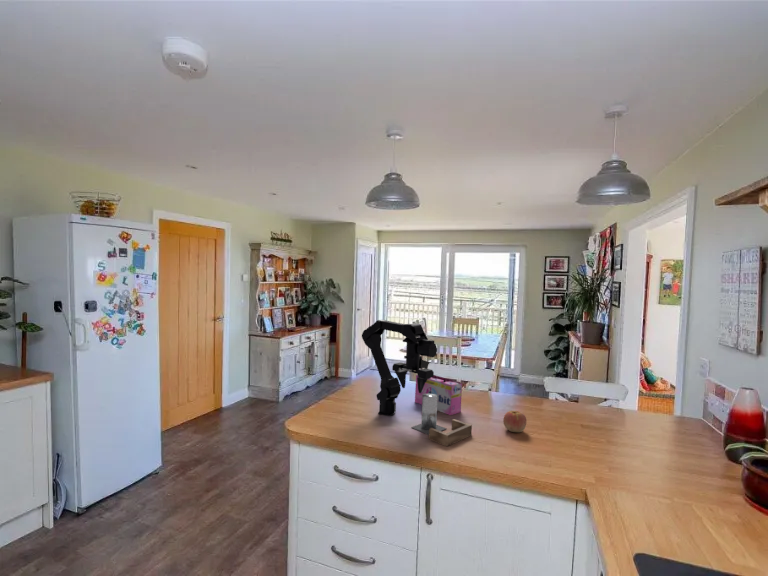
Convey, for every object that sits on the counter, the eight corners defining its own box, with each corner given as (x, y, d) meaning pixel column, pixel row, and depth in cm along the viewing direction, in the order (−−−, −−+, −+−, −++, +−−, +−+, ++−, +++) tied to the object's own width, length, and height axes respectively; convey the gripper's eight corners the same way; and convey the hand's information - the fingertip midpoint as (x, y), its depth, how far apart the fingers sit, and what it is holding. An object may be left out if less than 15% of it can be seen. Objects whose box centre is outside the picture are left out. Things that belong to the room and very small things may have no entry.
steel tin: (420, 429, 159) (421, 396, 159) (422, 424, 165) (423, 392, 165) (435, 431, 158) (436, 398, 157) (437, 426, 164) (438, 394, 163)
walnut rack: (428, 439, 151) (429, 428, 151) (453, 428, 162) (454, 419, 162) (446, 446, 145) (447, 435, 145) (471, 435, 156) (471, 425, 156)
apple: (527, 436, 157) (528, 416, 157) (503, 433, 159) (504, 413, 159) (524, 428, 166) (525, 409, 165) (501, 425, 167) (502, 406, 167)
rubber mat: (411, 428, 161) (411, 427, 161) (427, 422, 168) (427, 421, 168) (430, 435, 154) (430, 434, 154) (446, 429, 161) (446, 428, 161)
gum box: (412, 401, 196) (413, 374, 196) (423, 398, 201) (424, 372, 201) (450, 415, 178) (451, 385, 178) (461, 412, 183) (462, 382, 183)
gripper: (442, 355, 168) (441, 392, 168) (409, 348, 181) (408, 382, 181) (425, 358, 160) (424, 397, 160) (392, 351, 173) (390, 386, 174)
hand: (411, 390), depth 169 cm, fingers open, 9 cm apart
